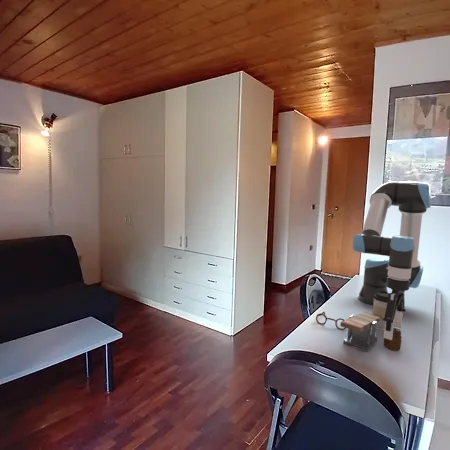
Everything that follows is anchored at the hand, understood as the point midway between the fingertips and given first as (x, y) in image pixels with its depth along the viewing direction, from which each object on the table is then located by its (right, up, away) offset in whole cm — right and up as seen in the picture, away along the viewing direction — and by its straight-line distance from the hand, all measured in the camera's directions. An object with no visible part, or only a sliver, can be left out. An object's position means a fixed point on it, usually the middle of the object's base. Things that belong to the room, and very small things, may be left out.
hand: (392, 332), depth 123 cm
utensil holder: (0, -6, +1) cm, 6 cm away
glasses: (-14, -3, +23) cm, 27 cm away
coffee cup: (+5, -4, +20) cm, 21 cm away
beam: (-10, +3, +3) cm, 11 cm away
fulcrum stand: (-10, -5, +4) cm, 12 cm away
